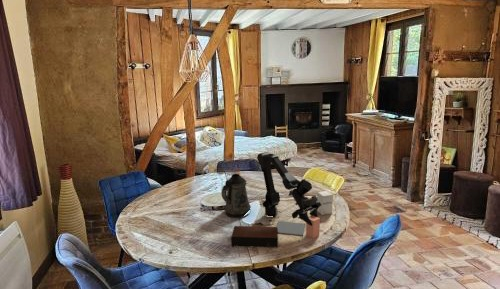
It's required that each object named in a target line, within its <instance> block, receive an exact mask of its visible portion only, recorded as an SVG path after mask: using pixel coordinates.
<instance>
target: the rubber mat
mask: <svg viewBox="0 0 500 289" xmlns="http://www.w3.org/2000/svg"><path fill="white" fill-rule="evenodd" d="M275 227H277V228H278V234H281V235H291V236H300V237H303V236H304V232H305V228H306V223H304V222H303V223H302V222H291V221H282V220H278V221H277V222H276V224H275Z"/></svg>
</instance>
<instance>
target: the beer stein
mask: <svg viewBox="0 0 500 289" xmlns="http://www.w3.org/2000/svg"><path fill="white" fill-rule="evenodd" d="M246 186H247V180H246V179H245V178H243V177H242V176H241V175H240V174H239V173H233V174H232V175H231V177H230V178H228V179H227V180H226V181H225V184H224V185H223V186H222V189H221V193H220V194H221V197H222V200H223V201H224V202H225V205H224V212H225V215H226V216H227V217H230V218H232V219H234V218H235V219H240V218H241V219H242V218H244V217H243V216H244V215H245V214H246V213H247V212H248V211H249V210H250V211H251V209H252V207H251V204H250V202H249V198H248V192H247V187H246ZM250 208H251V209H250Z"/></svg>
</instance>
